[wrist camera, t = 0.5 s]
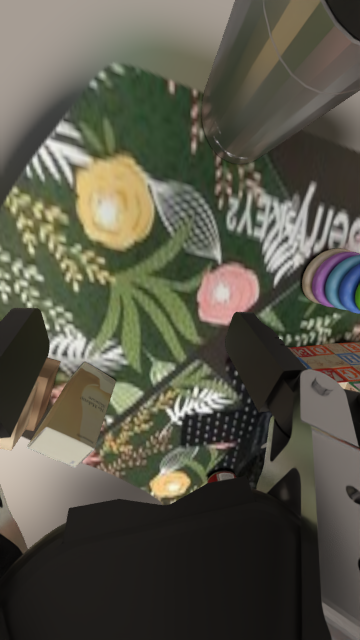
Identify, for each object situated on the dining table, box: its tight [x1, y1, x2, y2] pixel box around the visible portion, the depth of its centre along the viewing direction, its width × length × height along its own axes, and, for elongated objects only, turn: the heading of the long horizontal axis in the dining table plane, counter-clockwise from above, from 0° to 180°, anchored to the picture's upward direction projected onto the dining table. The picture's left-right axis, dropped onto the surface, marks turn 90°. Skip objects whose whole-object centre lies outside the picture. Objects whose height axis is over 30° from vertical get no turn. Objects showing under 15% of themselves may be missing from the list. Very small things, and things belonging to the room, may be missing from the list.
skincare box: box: [27, 362, 116, 467], centre depth 29 cm, size 6×4×12 cm
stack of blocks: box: [288, 342, 360, 392], centre depth 32 cm, size 21×6×12 cm, turn 91°
